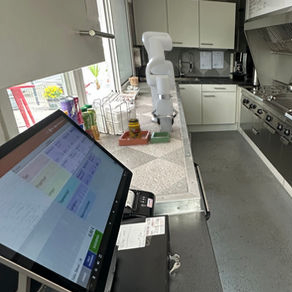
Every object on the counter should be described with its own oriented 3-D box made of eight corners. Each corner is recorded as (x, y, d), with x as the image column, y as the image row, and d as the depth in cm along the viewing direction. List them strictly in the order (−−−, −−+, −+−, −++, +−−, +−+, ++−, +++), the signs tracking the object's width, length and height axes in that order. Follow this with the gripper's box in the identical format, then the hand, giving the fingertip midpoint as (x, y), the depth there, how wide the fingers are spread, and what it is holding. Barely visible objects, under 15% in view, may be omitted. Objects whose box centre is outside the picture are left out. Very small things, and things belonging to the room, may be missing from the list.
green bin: (153, 137, 143) (153, 131, 142) (169, 137, 145) (169, 131, 144) (151, 143, 133) (151, 137, 132) (168, 143, 135) (168, 137, 133)
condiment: (137, 142, 133) (134, 121, 128) (124, 140, 135) (121, 120, 130) (145, 138, 139) (142, 118, 134) (133, 136, 141) (130, 116, 137)
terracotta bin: (126, 136, 143) (125, 130, 142) (150, 135, 146) (150, 130, 145) (119, 145, 128) (118, 139, 127) (146, 144, 131) (146, 138, 130)
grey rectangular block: (172, 132, 153) (171, 117, 149) (161, 133, 150) (159, 118, 146) (171, 130, 156) (170, 116, 152) (160, 132, 153) (159, 117, 149)
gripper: (178, 96, 150) (179, 123, 156) (150, 95, 147) (152, 123, 153) (178, 98, 143) (179, 126, 149) (148, 97, 140) (150, 126, 146)
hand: (165, 124), depth 151 cm, fingers closed on grey rectangular block, 7 cm apart
